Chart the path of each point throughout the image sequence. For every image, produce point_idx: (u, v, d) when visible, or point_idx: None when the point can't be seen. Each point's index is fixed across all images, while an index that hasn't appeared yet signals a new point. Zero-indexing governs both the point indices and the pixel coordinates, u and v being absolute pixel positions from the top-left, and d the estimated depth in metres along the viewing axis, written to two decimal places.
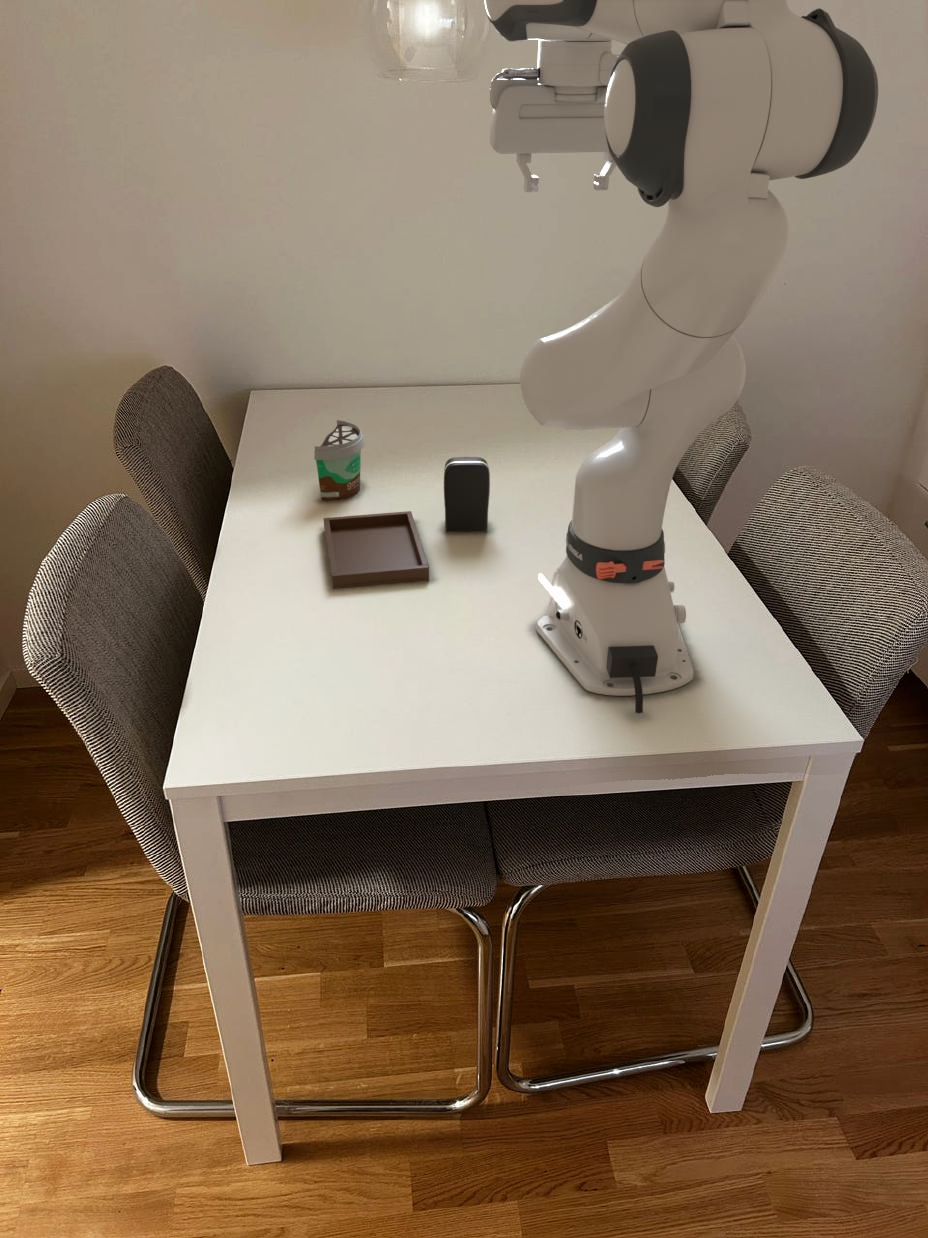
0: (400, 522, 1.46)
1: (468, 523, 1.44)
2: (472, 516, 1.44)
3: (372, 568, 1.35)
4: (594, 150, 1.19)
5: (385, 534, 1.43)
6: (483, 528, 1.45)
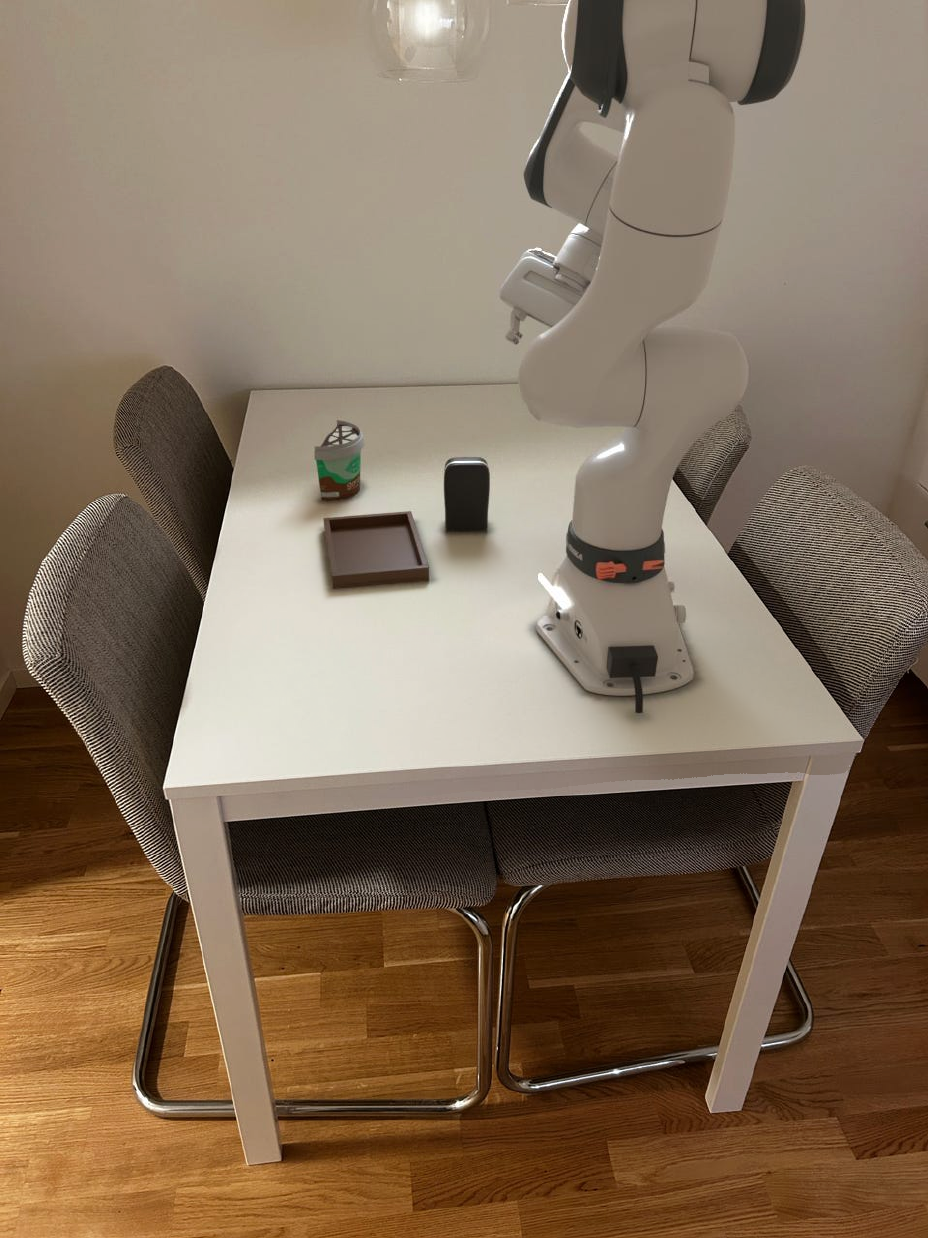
0: (400, 522, 1.46)
1: (468, 523, 1.44)
2: (472, 516, 1.44)
3: (372, 568, 1.35)
4: None
5: (385, 534, 1.43)
6: (483, 528, 1.45)
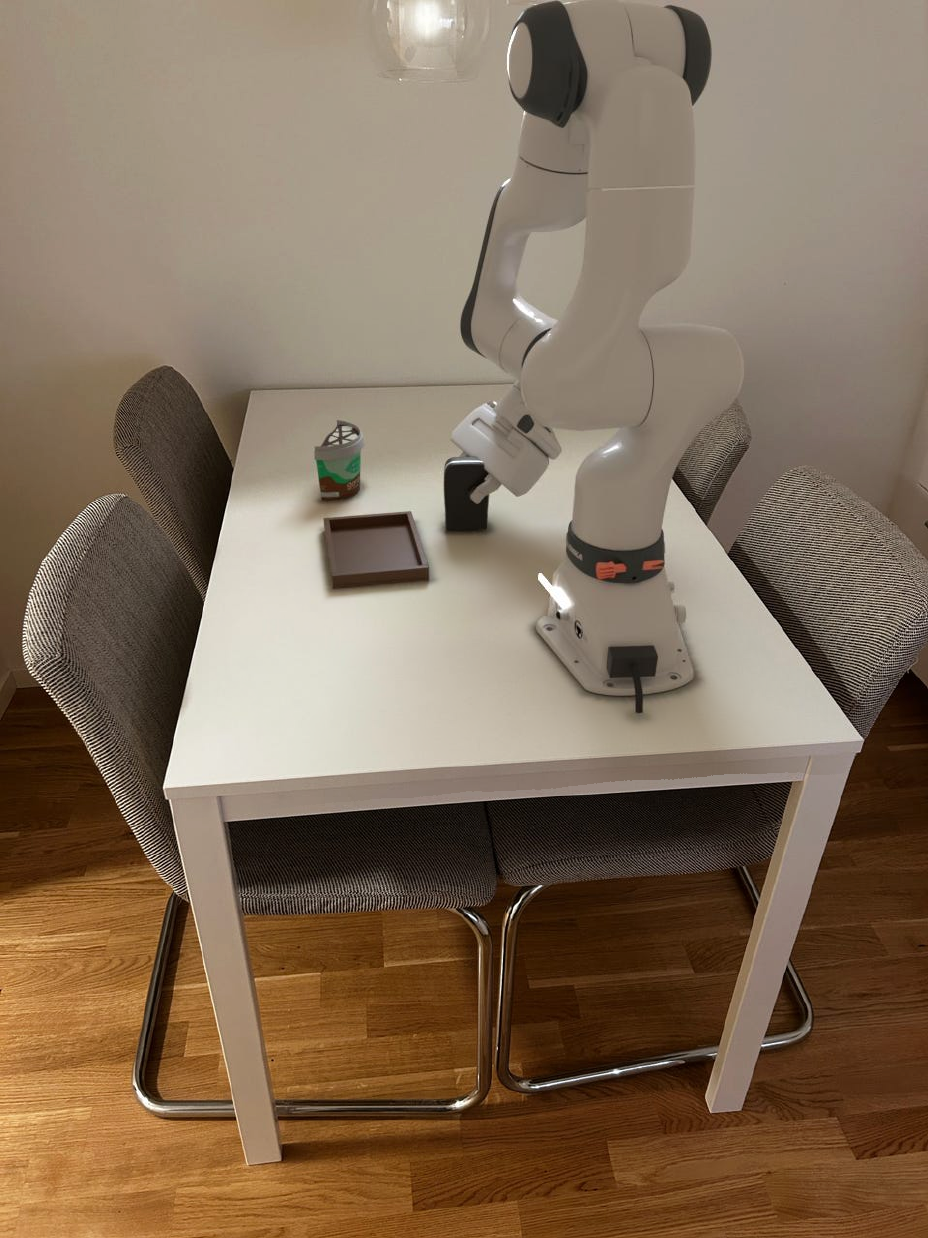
0: (400, 522, 1.46)
1: (468, 523, 1.44)
2: (472, 516, 1.44)
3: (372, 568, 1.35)
4: (485, 467, 1.39)
5: (385, 534, 1.43)
6: (483, 528, 1.45)
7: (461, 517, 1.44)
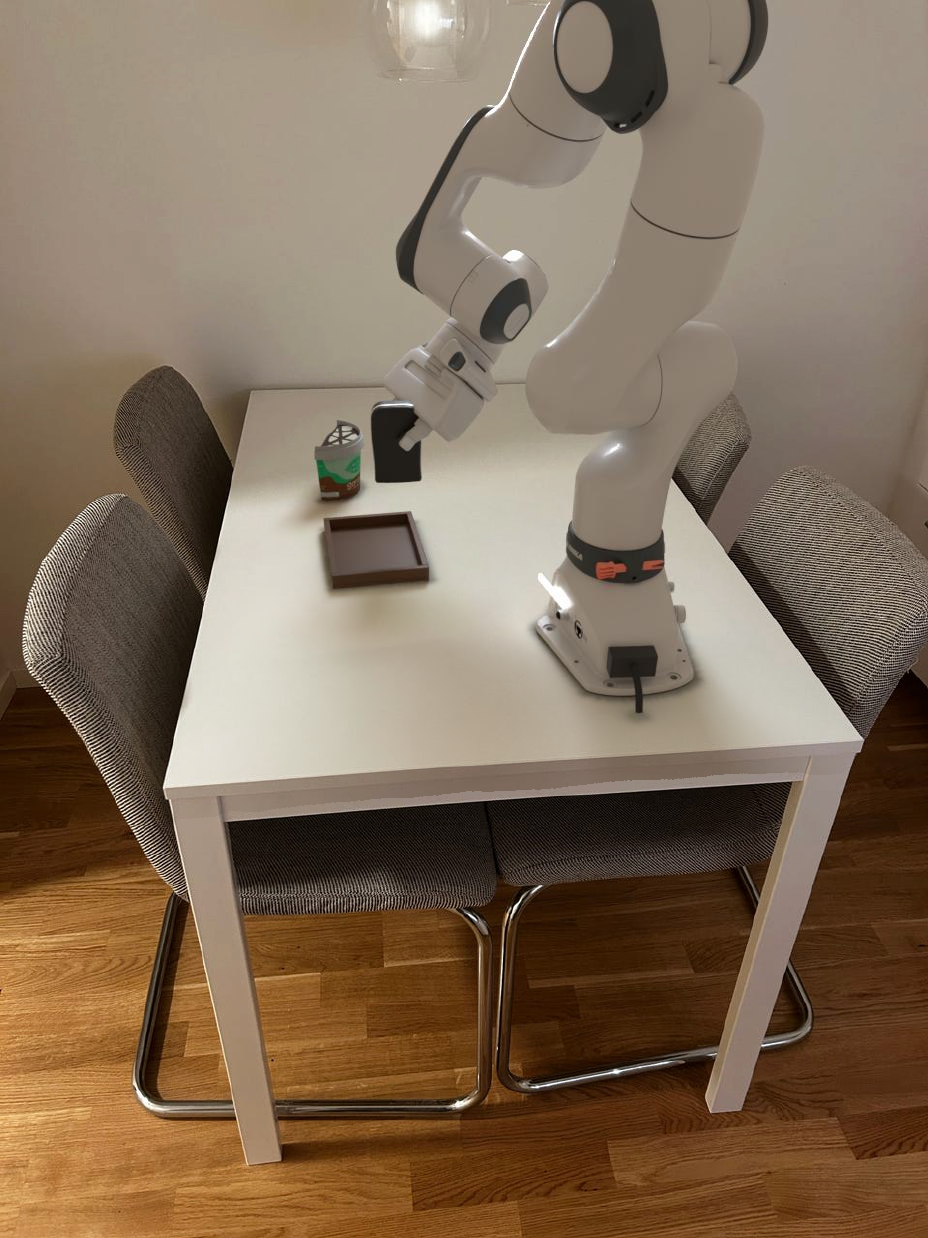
0: (400, 522, 1.46)
1: (400, 473, 1.33)
2: (404, 465, 1.32)
3: (372, 568, 1.35)
4: (415, 411, 1.28)
5: (385, 534, 1.43)
6: (416, 479, 1.33)
7: (392, 467, 1.32)
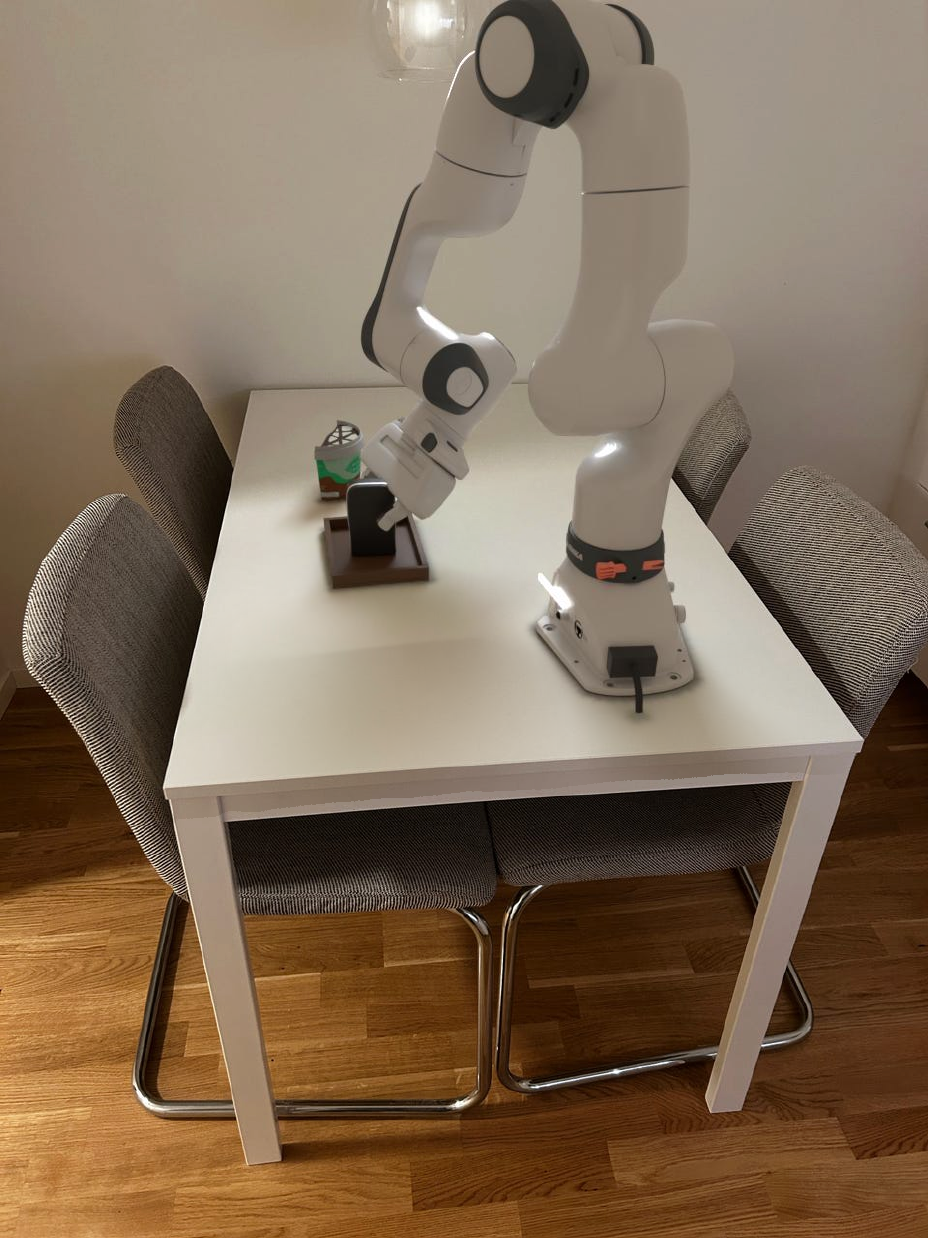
0: (400, 522, 1.46)
1: (375, 547, 1.37)
2: (379, 540, 1.36)
3: (372, 568, 1.35)
4: (389, 488, 1.31)
5: None
6: (391, 552, 1.37)
7: (367, 542, 1.36)
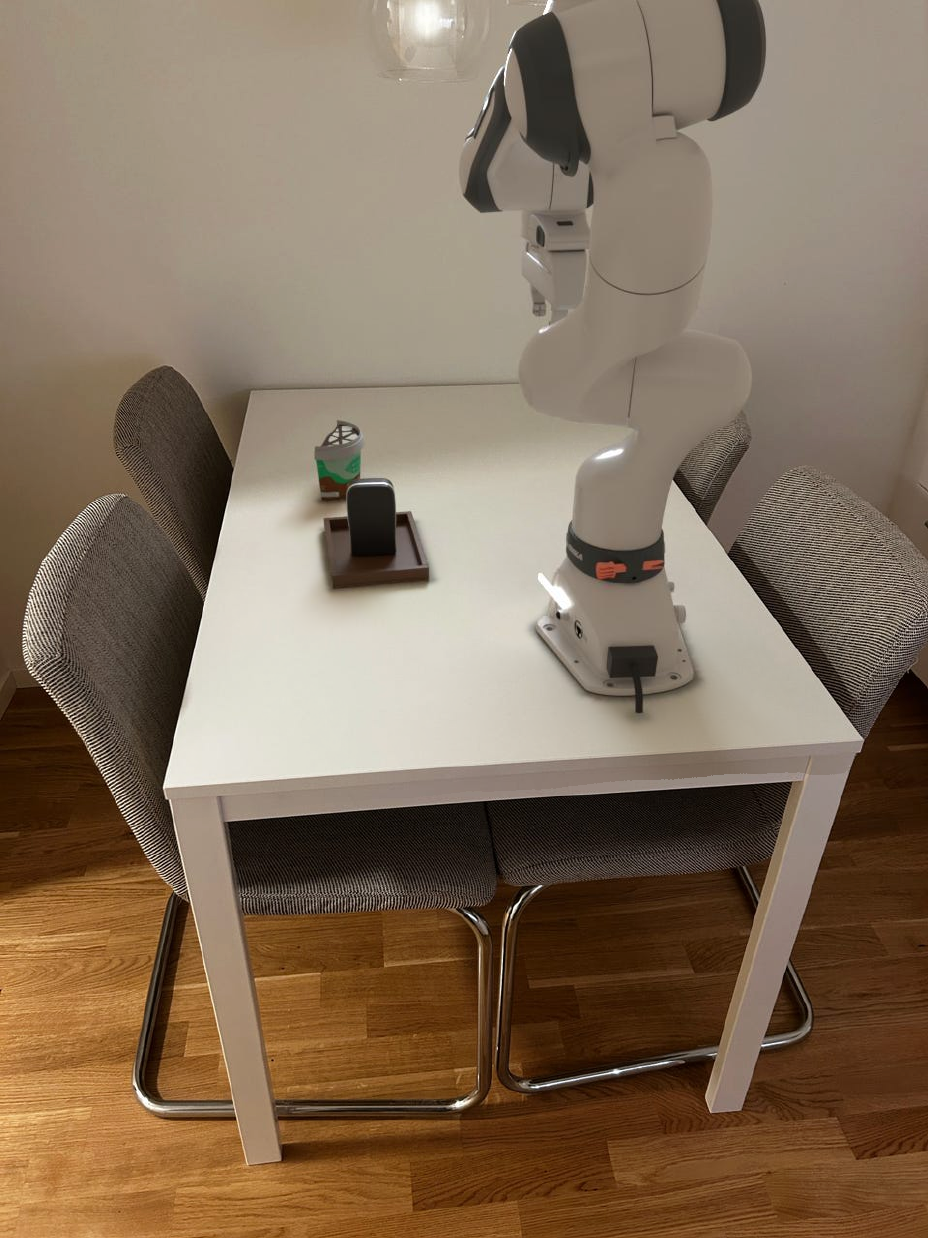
0: (400, 522, 1.46)
1: (375, 547, 1.37)
2: (379, 540, 1.36)
3: (372, 568, 1.35)
4: (542, 296, 1.32)
5: None
6: (391, 552, 1.37)
7: (367, 542, 1.36)
